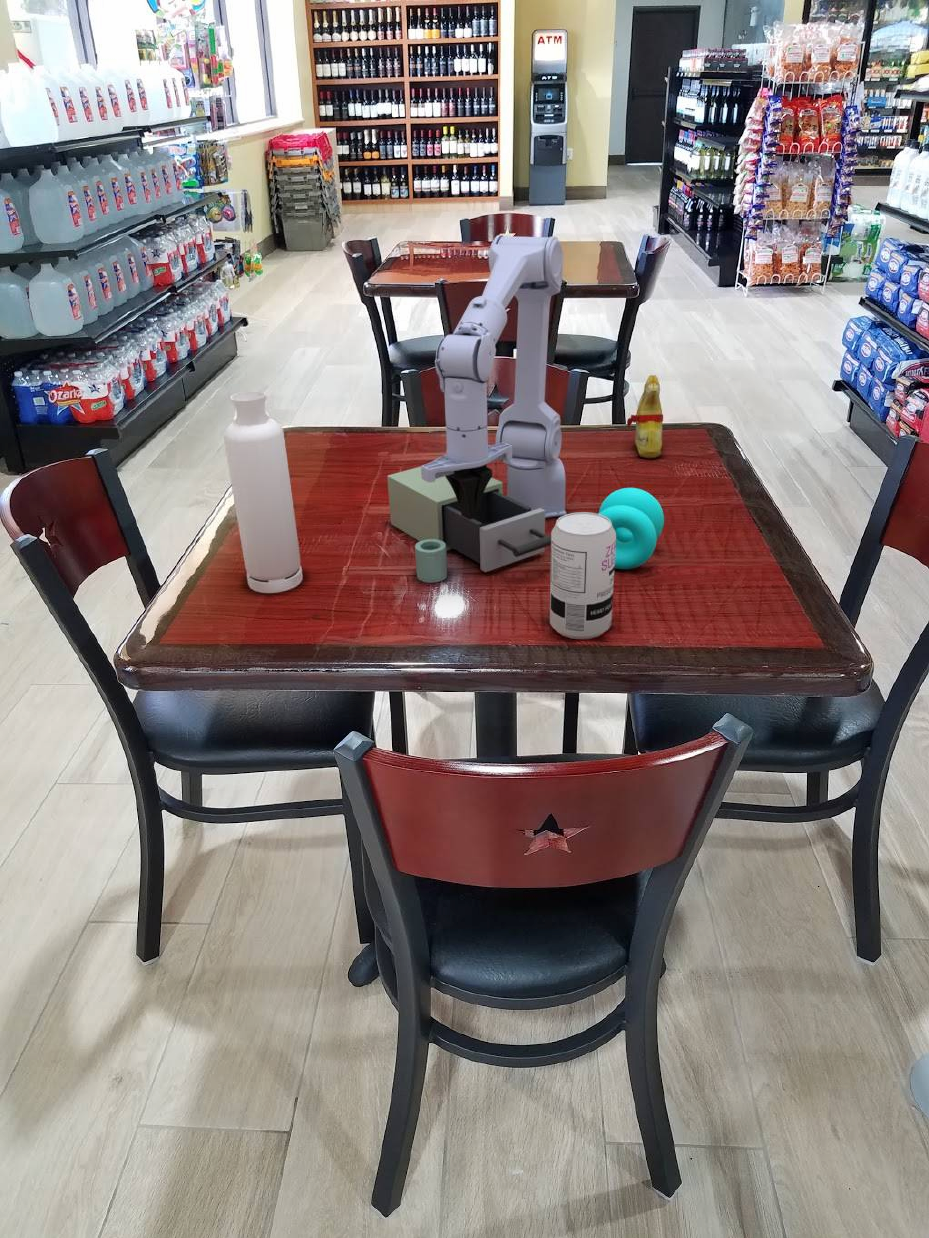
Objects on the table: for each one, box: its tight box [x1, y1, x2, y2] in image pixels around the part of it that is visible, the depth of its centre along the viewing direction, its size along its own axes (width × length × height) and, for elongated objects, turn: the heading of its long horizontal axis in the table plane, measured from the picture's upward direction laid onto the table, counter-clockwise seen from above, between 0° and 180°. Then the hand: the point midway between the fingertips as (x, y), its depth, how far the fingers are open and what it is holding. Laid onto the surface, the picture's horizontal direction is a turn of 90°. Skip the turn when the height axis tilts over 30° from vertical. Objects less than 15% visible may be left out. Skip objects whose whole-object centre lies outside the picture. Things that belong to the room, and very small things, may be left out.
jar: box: [414, 539, 448, 584], centre depth 138 cm, size 4×5×5 cm
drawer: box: [442, 490, 551, 573], centre depth 141 cm, size 19×11×7 cm, turn 35°
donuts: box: [598, 487, 665, 570], centre depth 140 cm, size 10×10×10 cm
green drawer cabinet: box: [386, 466, 504, 552], centre depth 152 cm, size 15×13×9 cm
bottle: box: [223, 390, 303, 594], centre depth 132 cm, size 8×8×28 cm
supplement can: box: [549, 511, 616, 640], centre depth 121 cm, size 8×8×15 cm
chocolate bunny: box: [626, 374, 664, 459], centre depth 179 cm, size 7×11×15 cm, turn 176°
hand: (469, 516), depth 134 cm, fingers closed
